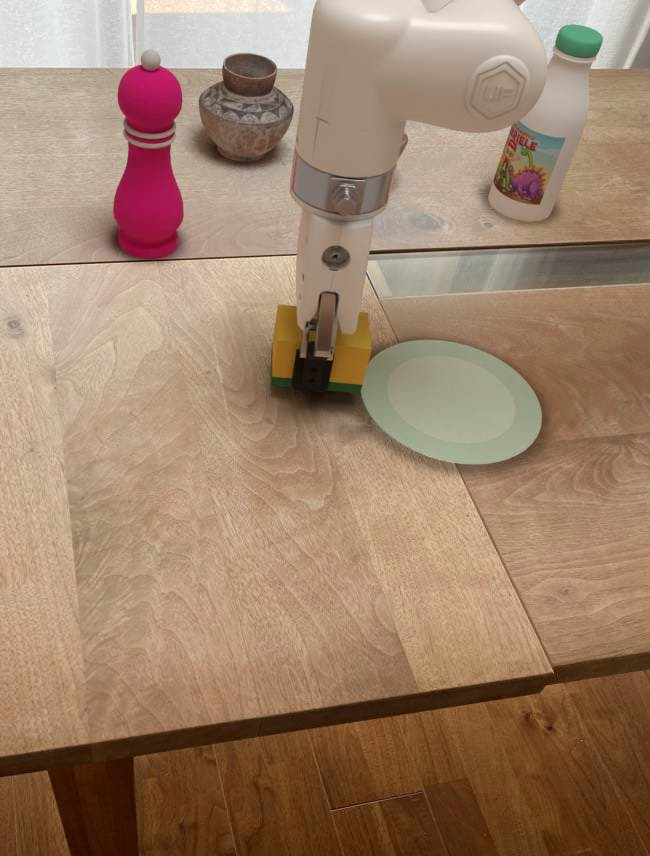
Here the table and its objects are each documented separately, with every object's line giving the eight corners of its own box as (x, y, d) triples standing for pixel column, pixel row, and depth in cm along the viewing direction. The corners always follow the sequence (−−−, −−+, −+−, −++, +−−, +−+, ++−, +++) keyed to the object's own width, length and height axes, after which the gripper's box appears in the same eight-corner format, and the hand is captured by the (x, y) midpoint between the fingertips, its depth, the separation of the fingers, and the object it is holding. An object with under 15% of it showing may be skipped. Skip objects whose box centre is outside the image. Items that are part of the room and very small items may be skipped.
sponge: (357, 357, 82) (368, 312, 78) (360, 393, 79) (371, 348, 75) (271, 349, 82) (277, 304, 78) (270, 385, 78) (277, 340, 74)
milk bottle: (519, 187, 111) (582, 12, 95) (562, 219, 107) (635, 42, 91) (472, 199, 108) (529, 21, 92) (515, 232, 104) (582, 52, 88)
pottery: (387, 216, 103) (412, 113, 94) (183, 166, 106) (187, 62, 97) (403, 170, 110) (427, 71, 101) (211, 125, 113) (218, 24, 104)
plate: (521, 357, 89) (525, 347, 88) (553, 481, 78) (558, 472, 77) (353, 341, 88) (355, 331, 87) (362, 464, 77) (365, 455, 76)
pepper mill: (196, 251, 95) (208, 55, 80) (145, 276, 91) (147, 75, 76) (150, 221, 98) (154, 26, 82) (99, 244, 94) (93, 44, 79)
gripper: (401, 245, 61) (354, 437, 75) (384, 125, 71) (345, 312, 85) (292, 235, 60) (265, 430, 74) (291, 116, 71) (267, 306, 85)
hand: (308, 365), depth 80 cm, fingers closed on sponge, 5 cm apart
